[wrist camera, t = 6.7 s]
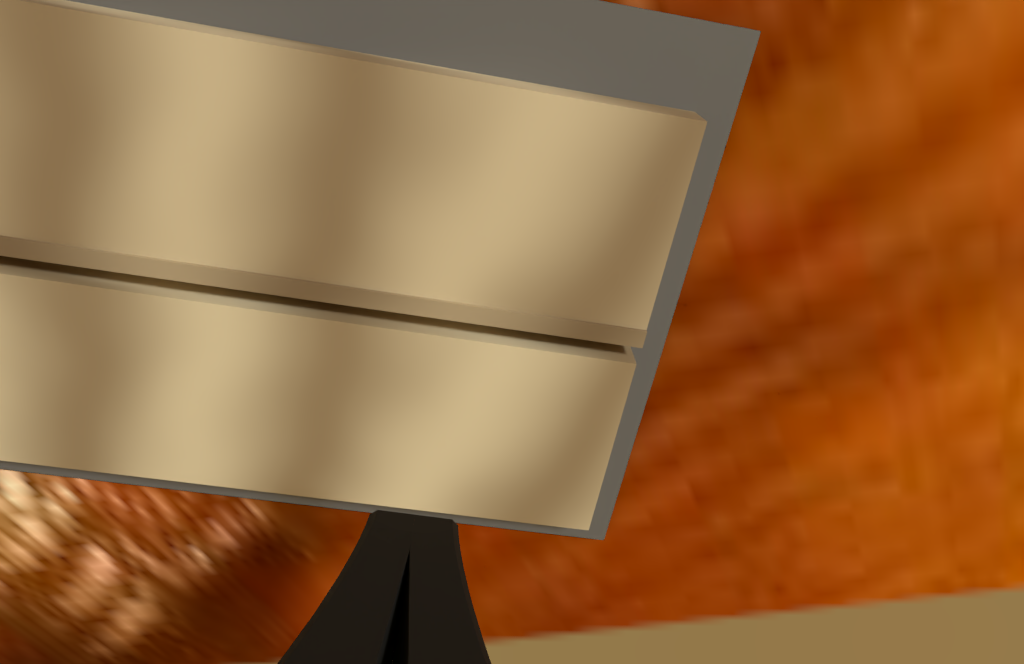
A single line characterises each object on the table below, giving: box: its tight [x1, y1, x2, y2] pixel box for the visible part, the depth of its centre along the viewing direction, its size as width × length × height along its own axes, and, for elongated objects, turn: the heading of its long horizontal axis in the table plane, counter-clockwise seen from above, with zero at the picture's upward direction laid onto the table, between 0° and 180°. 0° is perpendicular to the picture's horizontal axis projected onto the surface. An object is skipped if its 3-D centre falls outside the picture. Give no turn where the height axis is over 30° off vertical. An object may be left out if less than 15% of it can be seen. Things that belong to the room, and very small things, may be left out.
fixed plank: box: [0, 0, 707, 348], centre depth 17 cm, size 18×6×1 cm, turn 80°
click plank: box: [0, 256, 636, 530], centre depth 20 cm, size 18×6×1 cm, turn 80°
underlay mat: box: [0, 0, 761, 540], centre depth 19 cm, size 20×16×1 cm
